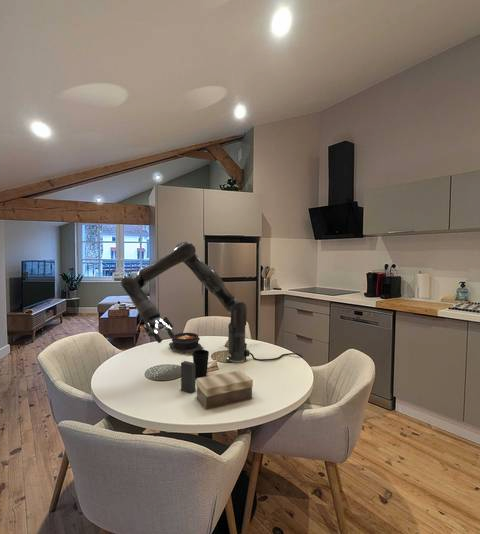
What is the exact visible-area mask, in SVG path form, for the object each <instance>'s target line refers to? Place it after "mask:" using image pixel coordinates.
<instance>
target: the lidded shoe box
mask: <svg viewBox="0 0 480 534" xmlns="http://www.w3.org/2000/svg"><path fill="white" fill-rule="evenodd" d="M253 384H254V379H253V378H252V377H250V376H248V375H247V374H246V373H244V372H243V371H242V370H240V369H239V370H235V371H229V372H222V373H218V374H213V375H207V376H206V377H201V378H197V379H196V398H197V400H198V401H199V402H200V404H201V405H202V406H203V408H205V410H209V409H212V408H217V407H222V406H225V405H231V404H234V403H238V402H243V401H247V400H251V399H253V386H254V385H253Z"/></svg>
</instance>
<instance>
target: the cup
mask: <svg viewBox="0 0 480 534" xmlns="http://www.w3.org/2000/svg"><path fill="white" fill-rule="evenodd" d="M209 354H210V351H209V350H207V349H202V350H195V351H193V352H192V363H195V380H197V378H201V377H206V376H208V366H209V357H210V356H209Z"/></svg>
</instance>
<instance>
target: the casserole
mask: <svg viewBox="0 0 480 534" xmlns="http://www.w3.org/2000/svg"><path fill="white" fill-rule="evenodd" d="M174 334H175V337H174V338H171V342H170V343H168V345H169V347H170V349H171V350H172V351H176V352H180V353H188V354H189V353H193V351H195V350H204V347H203V346H202V344H201V343H199V341H200V336H199V334H197V333H194V332H180V333H174Z"/></svg>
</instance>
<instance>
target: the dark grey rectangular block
mask: <svg viewBox="0 0 480 534" xmlns="http://www.w3.org/2000/svg"><path fill="white" fill-rule="evenodd" d="M180 390H181V391H182V392H186V393H189V394H193V393H195V391H196V378H195V363H193V361H192V362H191V361H187V360H184V361H182V362H180Z"/></svg>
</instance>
